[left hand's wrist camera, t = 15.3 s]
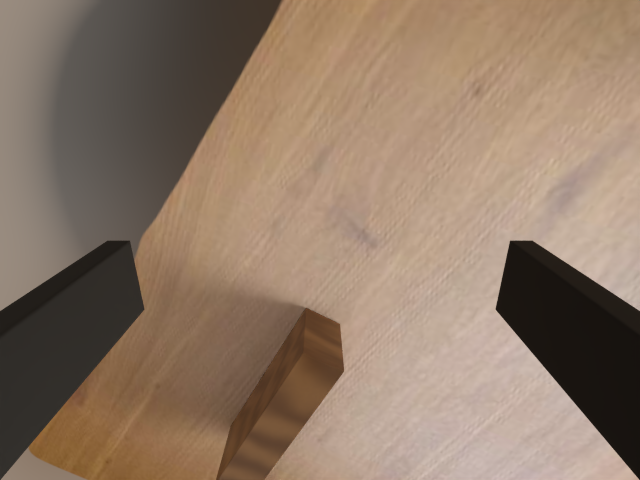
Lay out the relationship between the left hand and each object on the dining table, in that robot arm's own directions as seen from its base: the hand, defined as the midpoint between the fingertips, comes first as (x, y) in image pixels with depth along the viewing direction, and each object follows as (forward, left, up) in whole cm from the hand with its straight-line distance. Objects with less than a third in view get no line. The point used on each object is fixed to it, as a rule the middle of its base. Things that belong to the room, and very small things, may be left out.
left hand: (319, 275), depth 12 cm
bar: (+25, +18, -28) cm, 41 cm away
